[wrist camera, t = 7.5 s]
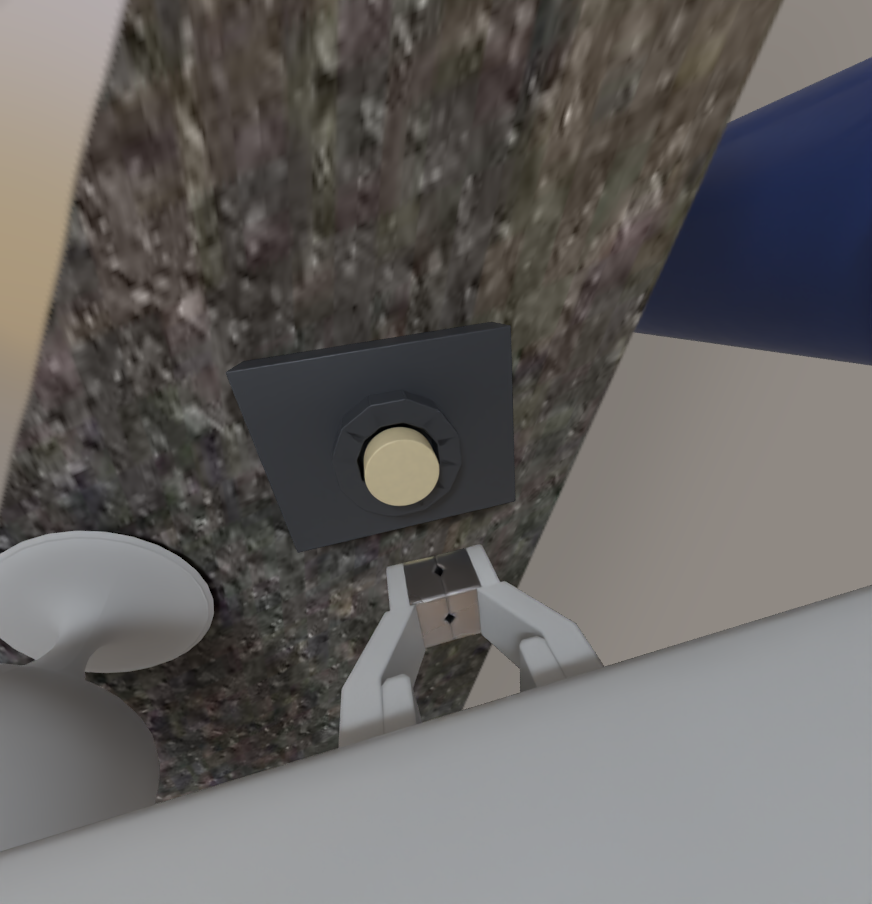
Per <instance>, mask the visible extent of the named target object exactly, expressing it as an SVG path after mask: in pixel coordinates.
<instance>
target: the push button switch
mask: <svg viewBox="0 0 872 904" xmlns="http://www.w3.org/2000/svg"><path fill="white" fill-rule="evenodd" d="M438 477H439V463H438V460H437V457H436V455H435V453H434V451H433V449H432V447H431V445H430V443H429V442H428V440H427V439H426V438H425V437H424V436H423V435H422V434H421V433H419V432H418V431H416V430H413V429H411V428H406V427H394V428H390V429H387V430H384V431H382V432H380V433H379V434H377V435H376V436H375V437H374V438H373V439H372V440H371V441H370V442H369V444H368V446H367V448H366V450H365V453H364V478H365V483H366V486H367V488H368V490H369V491H370V492H371V494H372V495H373V496H374V497H375V498H377V499H378V500H380V501H381V502H383V503H386V504H389V505H394V506H405V505H410V504H414V503H416V502H418V501H420V500H422V499H423V498H425V497H426V496H427V495H428V494H429V493H430V492H431V491H432V490H433V488H434V487H435V485H436V483H437V480H438Z"/></svg>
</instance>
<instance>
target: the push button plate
mask: <svg viewBox="0 0 872 904" xmlns="http://www.w3.org/2000/svg"><path fill="white" fill-rule="evenodd" d="M226 375H227V378H228V380H229V383H230V385H231V388H232V390H233V393H234V395H235V398H236V400H237V403H238V405H239V408H240V410H241V413H242V415H243V418H244V420H245V423H246V425H247V428H248V430H249V433H250V435H251V438H252V440H253V443H254V445H255V448H256V450H257V453H258V455H259V458H260V460H261V463H262V465H263V468H264V470H265V473H266V475H267V478H268V480H269V483H270V485H271V488H272V490H273V493H274V495H275V498H276V500H277V503H278V505H279V508H280V510H281V513H282V515H283V518H284V520H285V523H286V525H287V528H288V530H289V533H290V535H291V538H292V540H293V542H294V545H295V547H296V550H297V552H298V553H299V552H303V551H307V550H312V549H316V548H320V547H324V546H329V545H333V544H337V543H341V542H345V541H350V540H354V539H358V538H362V537H366V536H371V535H375V534H379V533H383V532H388V531H392V530H396V529H400V528H404V527H409V526H413V525H417V524H421V523H425V522H430V521H434V520H438V519H442V518H447V517H451V516H455V515H459V514H463V513H468V512H472V511H476V510H480V509H484V508H489V507H493V506H497V505H501V504H506V503H510V502H514V501H515V471H514V432H513V394H512V356H511V326H509V325H505V324H500V323H495V322H488V323H481V324H475V325H469V326H463V327H456V328H450V329H444V330H437V331H431V332H425V333H419V334H412V335H406V336H400V337H394V338H387V339H381V340H375V341H369V342H362V343H356V344H350V345H344V346H337V347H331V348H325V349H318V350H312V351H306V352H300V353H293V354H287V355H281V356H275V357H268V358H262V359H256V360H250V361H243V362H241V363H240V364H238V365H237V366H235V367H233V368H232V369H230V370H228V371H227V372H226ZM394 427H406V428H411V429H413V430H416V431H418V432H419V433H421V434H422V435H423V436H424V437H425V438H426V439H427V440H428V442H429V443H430V445H431V447H432V449H433V451H434V453H435V455H436V457H437V460H438V463H439V477H438V480H437V483H436V485H435V487H434V488H433V490H432V491H431V492H430V493H429V494H428V495H427V496H426V497H425V498H423V499H422V500H420V501H418V502H416V503H414V504H410V505H405V506H394V505H389V504H386V503H383V502H381V501H380V500H378V499H377V498H375V497H374V496H373V495H372V494H371V492H370V491H369V490H368V488H367V486H366V483H365V478H364V453H365V450H366V448H367V446H368V444H369V442H370V441H371V440H372V439H373V438H374V437H375V436H376V435H377V434H379V433H380V432H382V431H384V430H387V429H390V428H394Z"/></svg>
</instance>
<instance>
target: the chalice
mask: <svg viewBox="0 0 872 904" xmlns="http://www.w3.org/2000/svg"><path fill="white" fill-rule="evenodd" d="M213 615H214V604H213V597H212V595H211V592H210V590H209V587H208V585H207V583H206V582H205V581H204V579H203V578H202V577H201V576H200V574H199V573H198V572H197V571H196V570H195V569H194V568H193V567H192V566H190V565H189V564H188V563H187V562H186V561H184V560H183V559H182V558H181V557H179V556H177V555H175V554H174V553H172V552H170V551H168V550H166V549H164V548H162V547H160V546H159V545H156V544H153V543H150V542H147V541H144V540H141V539H138V538H135V537H132V536H126V535H121V534H115V533H109V532H98V531H69V532H61V533H53V534H46V535H43V536H40V537H36V538H33V539H30V540H26V541H23V542H21V543H19V544H17V545H15V546H13V547H12V548H10V549H8V550H6V551H5V552H3V553H1V554H0V638H1V639H2V640H3V641H5V642H6V643H7V644H9V645H10V646H11V647H13V648H14V649H15V650H17V651H19V652H21V653H23V654H25V655H27V656H29V657H31V658H33V659H35V661H33V662H31V663H28V664H26V665H24V666H22V665H11V664H0V851H3V850H7V849H10V848H13V847H16V846H20V845H23V844H26V843H30V842H33V841H36V840H39V839H43V838H46V837H49V836H52V835H56V834H59V833H62V832H66V831H69V830H72V829H75V828H79V827H82V826H85V825H88V824H92V823H95V822H98V821H102V820H105V819H108V818H111V817H115V816H118V815H121V814H124V813H128V812H131V811H134V810H138V809H141V808H144V807H147V806H151V805H154V804H155V801H156V796H157V791H158V786H159V773H160V764H159V759H158V755H157V750H156V746H155V743H154V739H153V736H152V734H151V732H150V730H149V729H148V727H147V726H146V724H145V722H144V721H143V719H142V718H141V717H140V716H139V715H138V714H137V713H136V712H134V711H133V710H132V709H131V708H130V707H129V706H128V705H127V704H126V703H125V702H123V701H122V700H121V699H120V698H119V697H118V696H116V695H114V694H112V693H110V692H109V691H107V690H105V689H103V688H102V687H100V686H98V685H96V684H94V683H91V682H88V681H86V680H85V672H96V673H115V672H129V671H135V670H140V669H145V668H150V667H153V666H156V665H159V664H162V663H165V662H168V661H171V660H173V659H175V658H177V657H178V656H180V655H182V654H184V653H186V652H187V651H189V650H190V649H191V648H192V647H194V646H195V645H196V644H197V643H198V642H200V641H201V640H202V638H203V637H204V635H205V634H206V632H207V631H208V629H209V628H210V625H211V622H212V619H213Z"/></svg>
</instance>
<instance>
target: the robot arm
mask: <svg viewBox="0 0 872 904" xmlns="http://www.w3.org/2000/svg"><path fill="white" fill-rule="evenodd" d="M403 564H404V565H403ZM386 573H387V583H388V593H389V604H390V611H388V612H385V614H384V615H383V617H382V619H381V621H380V622H379V624H378V626H377V628H376V629H375V631H374V633H373V635H372V637H371V638H370V640H369V642H368V644H367V645H366V647H365V649H364V651H363V652H362V654H361V656H360V658H359V660H358V661H357V663H356V665H355V667H354V668H353V670H352V672H351V674H350V675H349V677H348V679H347V681H346V683H345V684H344V686H343V688H342V692H341V712H340V732H339V748H337V749H334V750H331V751H327V752H324V753H321V754H318V755H314V756H311V757H308V758H305V759H301V760H298V761H295V762H291V763H288V764H285V765H282V766H278V767H275V768H272V769H269V770H265V771H262V772H259V773H255V774H252V775H249V776H246V777H242V778H239V779H236V780H233V781H229V782H226V783H223V784H220V785H216V786H213V787H210V788H206V789H203V790H200V791H197V792H193V793H190V794H187V795H183V796H180V797H177V798H174V799H170V800H167V801H164V802H161V803H157V804H154V805H151V806H147V807H144V808H141V809H138V810H134V811H131V812H128V813H124V814H121V815H118V816H115V817H111V818H108V819H105V820H102V821H98V822H95V823H92V824H88V825H85V826H82V827H79V828H75V829H72V830H69V831H66V832H62V833H59V834H56V835H52V836H49V837H46V838H43V839H39V840H36V841H33V842H30V843H26V844H23V845H20V846H16V847H13V848H10V849H7V850H3V851H0V904H872V585H870V586H867V587H863V588H860V589H857V590H853V591H850V592H847V593H844V594H840V595H837V596H834V597H831V598H828V599H824V600H821V601H818V602H814V603H811V604H808V605H805V606H801V607H798V608H795V609H792V610H788V611H785V612H782V613H778V614H775V615H772V616H769V617H765V618H762V619H759V620H755V621H752V622H749V623H746V624H742V625H739V626H736V627H733V628H729V629H726V630H723V631H720V632H716V633H713V634H710V635H706V636H703V637H700V638H697V639H693V640H691V641H687V642H684V643H680V644H677V645H674V646H671V647H667V648H664V649H661V650H657V651H654V652H651V653H648V654H644V655H641V656H638V657H635V658H631V659H628V660H625V661H621V662H618V663H615V664H612V665H608V666H605V667H604V665H603V664H602V662H601V661H600V659H599V658H598V656H597V654H596V653H595V651H594V650H593V648H592V647H591V645H590V644H589V642H588V641H587V639H586V638H585V636H584V635H583V633H582V632H581V630H580V629H579V627H578V625H577V624H576V623H575V622H573V621H571V620H570V619H568V618H566V617H565V616H563V615H561V614H560V613H558V612H556V611H554V610H553V609H551V608H549V607H548V606H546V605H544V604H543V603H541V602H539V601H537V600H536V599H534V598H533V597H531V596H529V595H528V594H526V593H524V592H523V591H521V590H519V589H517V588H516V587H514V586H512V585H511V584H509V583H507V582H506V581H503V582H500V581H499V579H498V577H497V575H496V573H495V571H494V568H493V566H492V564H491V562H490V560H489V558H488V556H487V554H486V552H485V550H484V548H483V546H482V545H481V544H478V545H474V546H471V547H467V548H465V549H464V548H463V549H460V550H456V551H452V552H448V553H444V554H440V555H436V556H432V557H428V558H423V559H418V560H414V561H409V562H405V563H402V564H397V565H393V566H388V567H387V570H386ZM479 633H482V635H483V636H484V637H485V638H486V639H487V640H488V641H490V642H491V643H492V644H493V645H494V646H495V647H496V648H497V649H498V650H499V651H501V652H502V653H503V654H504V655H505V656H506V657H507V658H508V659H509V660H511V661H512V662H513V663H514V664H515V665H516V666H517V667H518V668H519V669H520V693H517V694H514V695H511V696H508V697H504V698H501V699H498V700H495V701H491V702H488V703H484V704H481V705H478V706H475V707H471V708H468V709H465V710H462V711H458V712H455V713H452V714H448V715H445V716H442V717H439V718H435V719H432V720H429V721H426V722H422V721H421V717H420V713H419V709H418V706H417V702H416V698H415V694H414V690H413V686H414V683H415V680H416V677H417V674H418V671H419V668H420V665H421V662H422V659H423V656H424V653H425V648H428V647H431V646H435V645H438V644H441V643H444V642H448V641H451V640H454V639H458V638H462V637H466V636H470V635H474V634H479Z"/></svg>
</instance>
